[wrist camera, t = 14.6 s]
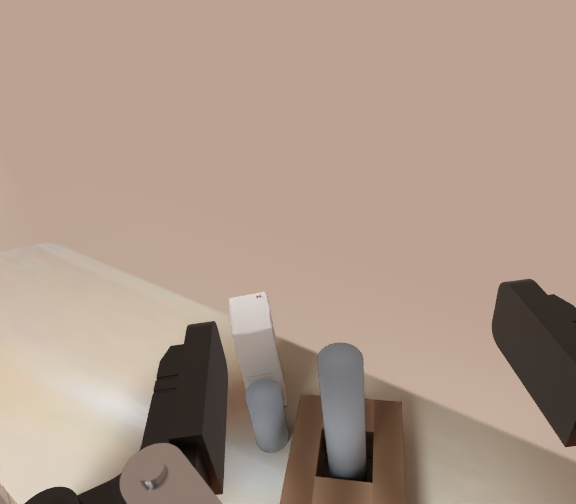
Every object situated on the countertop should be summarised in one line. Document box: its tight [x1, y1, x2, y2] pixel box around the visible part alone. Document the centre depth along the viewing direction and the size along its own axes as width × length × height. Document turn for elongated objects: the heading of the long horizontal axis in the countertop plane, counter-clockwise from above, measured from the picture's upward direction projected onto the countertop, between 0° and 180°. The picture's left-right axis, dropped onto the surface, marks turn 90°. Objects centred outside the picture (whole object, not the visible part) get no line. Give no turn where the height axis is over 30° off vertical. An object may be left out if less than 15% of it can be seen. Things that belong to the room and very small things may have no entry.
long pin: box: [317, 343, 367, 482], centre depth 37 cm, size 3×3×16 cm
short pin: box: [245, 379, 289, 453], centre depth 44 cm, size 3×3×7 cm
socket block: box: [280, 395, 405, 504], centre depth 40 cm, size 10×12×4 cm
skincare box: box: [229, 292, 287, 406], centre depth 48 cm, size 6×4×12 cm
